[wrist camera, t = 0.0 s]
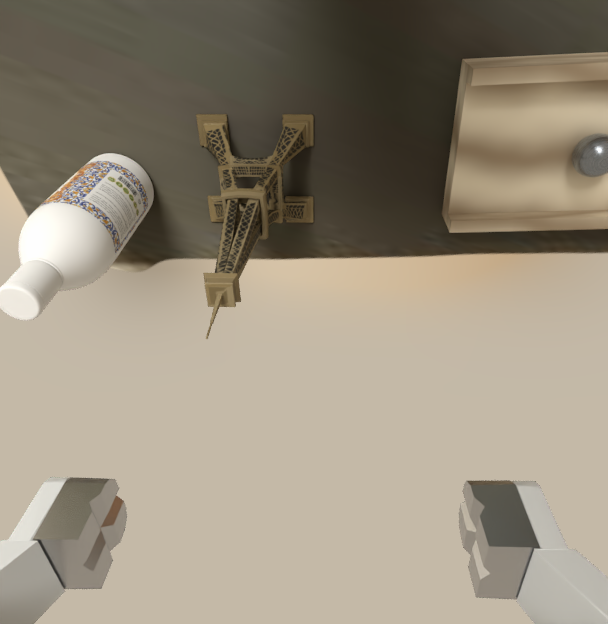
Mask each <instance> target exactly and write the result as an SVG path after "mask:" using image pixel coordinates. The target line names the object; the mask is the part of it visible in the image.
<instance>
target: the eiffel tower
mask: <svg viewBox="0 0 608 624" xmlns="http://www.w3.org/2000/svg"><path fill="white" fill-rule="evenodd" d="M196 117H197V125H198V132H199V139H200V146H204V147H206V148H207V149H208V150H209V151H210V152H211V153H212V154H213V155H214V156H215V157H216V158H217V159H218V161H219V164H220V166H218V171H219V178H220V186H221V196H208V203H209V211H210V218H211V222H223V227H222V233H221V239H220V245H219V251H218V257H217V263H216V269H215V273H204V279H205V289H206V296H207V301H208V306H210V307H214V309H213V313H212V318H211V321H210V322H211V323H210V327H209V330H208V333H207V336H206V339H207V338H208V336H209V332H210V329H211V326H212V323H213V322H214V319H215V316H216V314H217V311H218V309H219V307H235V306H236V304H235V302H241V297H240V289H239V277H240V275H241V273H242V271H243V269H244V267H245V265H246V263H247V261H248V259H249V257H250V255H251V253H252V251H253V249H254V247H255V245H256V243H257V241H258V239H267V238H268V237H269V236H268V226H269V225H270V224H271V223H272V222H274V223H283V218H285V219H286V221H287V222H294V223H313V197H311V196H286V198H285V201H286V202H284V194H283V165H284V164H286V163H287V162H288V161H289V160H290V159H292V158H293V157H294V156H295V155H297V154H298V153H299V152H300V151H301V150H303V149H304V148H305V147H309V146H313V114H283V131H282V134H281V136H280V139H279V141H278V144H277V146H276V149H275V152H274V154H273V156H269V157H262V158H252V159H251V158H242V157H236V156H232V154H231V150H230V147H229V146H230V140H229V130H228V120H227V114H197V115H196ZM238 177H261V178H260V179H259V181H258V182H257V184H256V185H255V187H254V188H253V189H243V188H237V184H236V179H237V178H238ZM268 193H269V203H267V198H266V196H267V194H268ZM245 203H247V204H245Z"/></svg>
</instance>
